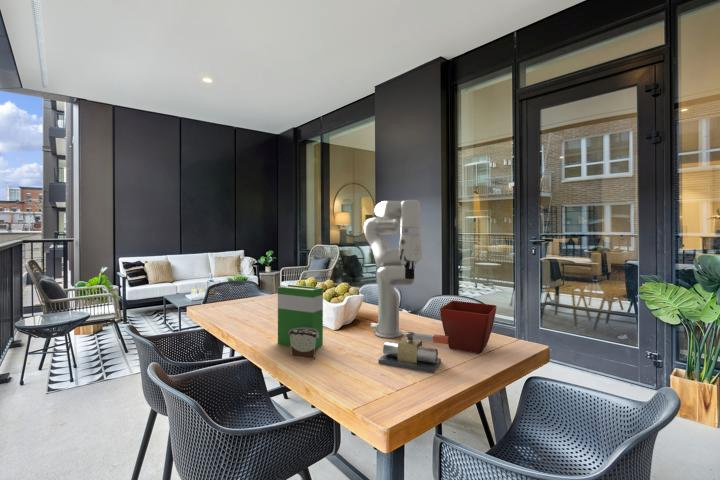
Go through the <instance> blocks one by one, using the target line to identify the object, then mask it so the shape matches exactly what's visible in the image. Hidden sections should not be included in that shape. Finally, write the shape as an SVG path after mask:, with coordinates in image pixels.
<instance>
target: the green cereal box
mask: <svg viewBox="0 0 720 480" xmlns="http://www.w3.org/2000/svg"><path fill="white" fill-rule="evenodd" d="M323 312H324V288H323V287H321V286H320V287H318V286H309V285H297V284H287V286H277V344H278V345H284V346H289V347H291V344H290V335H288V333H289V330H291V329H294V328H302V327H307V328H314V329H316V330H318V333H319V338H318V339H317V346H316V349H317V347H318V348H320V347H321V346H323V345H324V344H323V343H324V338H323V337H324V334H323V333H324V331H323V330H324V329H323V327H324V326H323V325H324V323H323V322H324V319H323V318H324V315H323V314H324V313H323Z"/></svg>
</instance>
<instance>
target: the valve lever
mask: <svg viewBox="0 0 720 480" xmlns="http://www.w3.org/2000/svg"><path fill="white" fill-rule="evenodd" d="M405 337H406V339H409V340H413V339H418V340H422V341H427V342H432V343H433V344H441V345H448V343H449V336H445V334H444V335H442V334H434V335H432V334H424V333H415V332H413V331H407V332H405Z"/></svg>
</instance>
